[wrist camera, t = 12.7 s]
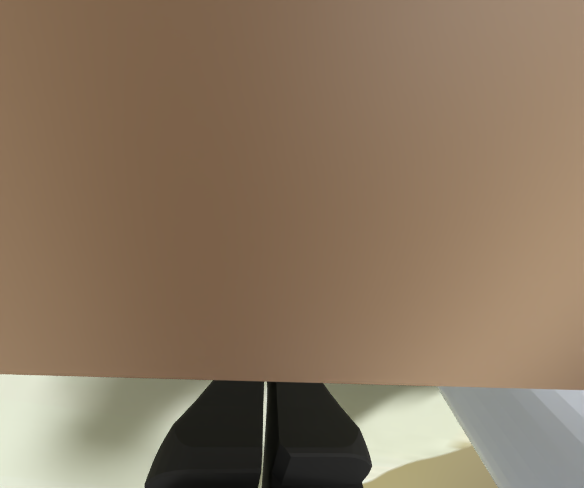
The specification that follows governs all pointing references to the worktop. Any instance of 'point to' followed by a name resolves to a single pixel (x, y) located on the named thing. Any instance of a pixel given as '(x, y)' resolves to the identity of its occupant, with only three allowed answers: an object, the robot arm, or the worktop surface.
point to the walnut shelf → (294, 191)
